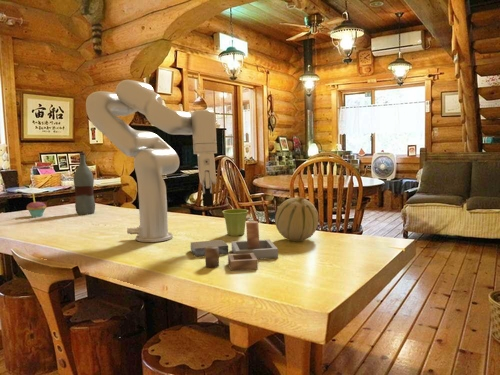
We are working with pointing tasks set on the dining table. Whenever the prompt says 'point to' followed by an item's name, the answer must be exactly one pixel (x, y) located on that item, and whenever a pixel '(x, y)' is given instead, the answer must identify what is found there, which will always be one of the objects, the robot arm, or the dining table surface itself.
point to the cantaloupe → (296, 219)
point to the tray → (264, 252)
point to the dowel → (252, 235)
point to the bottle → (84, 188)
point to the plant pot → (235, 221)
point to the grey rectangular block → (199, 247)
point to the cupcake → (36, 208)
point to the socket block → (242, 261)
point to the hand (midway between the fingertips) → (208, 205)
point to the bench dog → (212, 256)
